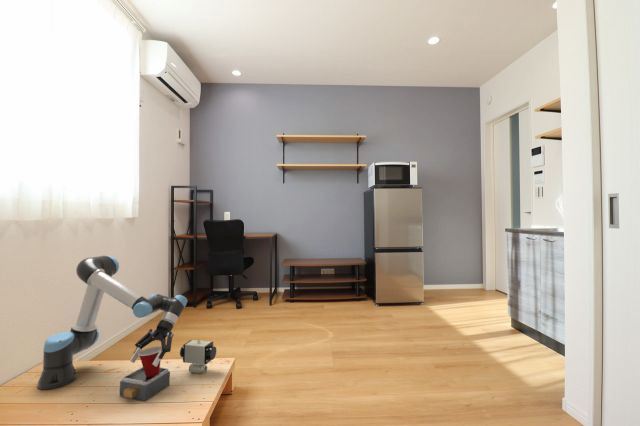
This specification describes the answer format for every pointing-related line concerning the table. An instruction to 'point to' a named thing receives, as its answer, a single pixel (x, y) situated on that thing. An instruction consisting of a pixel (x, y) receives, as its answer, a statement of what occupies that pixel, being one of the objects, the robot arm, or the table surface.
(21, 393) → the table surface
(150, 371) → the plastic cup
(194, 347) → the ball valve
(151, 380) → the square tray with tab
